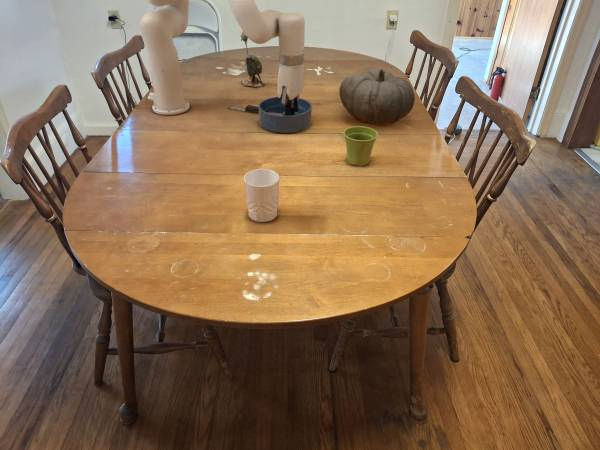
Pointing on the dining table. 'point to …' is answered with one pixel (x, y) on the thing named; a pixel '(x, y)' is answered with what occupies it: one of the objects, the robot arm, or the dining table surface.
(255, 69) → the grey tall irregular piece
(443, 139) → the dining table surface
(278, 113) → the green knife
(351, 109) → the gourd
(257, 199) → the white cup
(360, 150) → the plant pot
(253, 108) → the black knife
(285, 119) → the bowl
